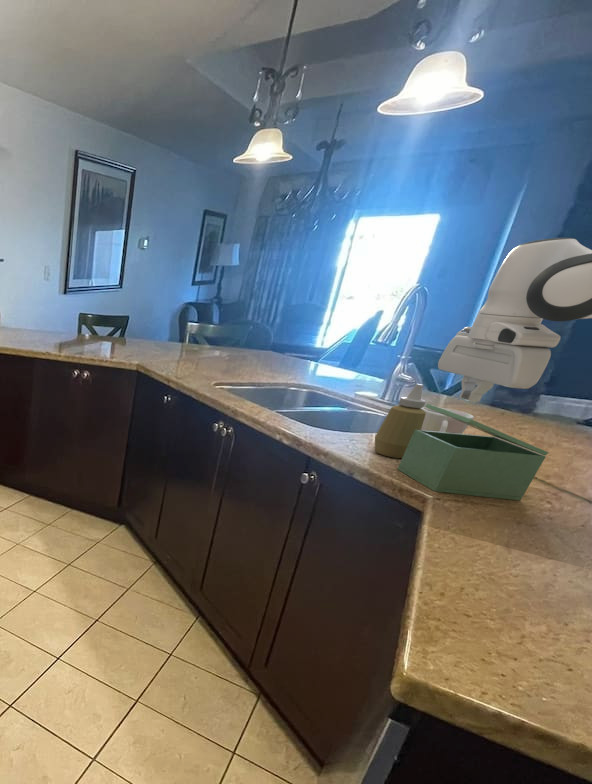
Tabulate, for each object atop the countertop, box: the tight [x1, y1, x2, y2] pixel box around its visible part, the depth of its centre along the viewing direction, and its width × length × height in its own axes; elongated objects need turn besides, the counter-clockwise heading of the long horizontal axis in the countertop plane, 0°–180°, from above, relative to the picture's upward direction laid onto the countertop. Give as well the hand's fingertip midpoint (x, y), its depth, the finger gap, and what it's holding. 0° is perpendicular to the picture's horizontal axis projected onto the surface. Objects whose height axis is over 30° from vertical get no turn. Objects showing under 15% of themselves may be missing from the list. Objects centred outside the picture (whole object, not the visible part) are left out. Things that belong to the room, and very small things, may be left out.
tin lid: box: [424, 403, 549, 457], centre depth 102 cm, size 16×13×1 cm
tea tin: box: [396, 430, 547, 501], centre depth 105 cm, size 16×13×10 cm
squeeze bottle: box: [374, 383, 427, 459], centre depth 120 cm, size 8×8×18 cm
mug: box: [421, 406, 475, 434], centre depth 127 cm, size 10×15×10 cm
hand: (468, 400), depth 100 cm, fingers closed
